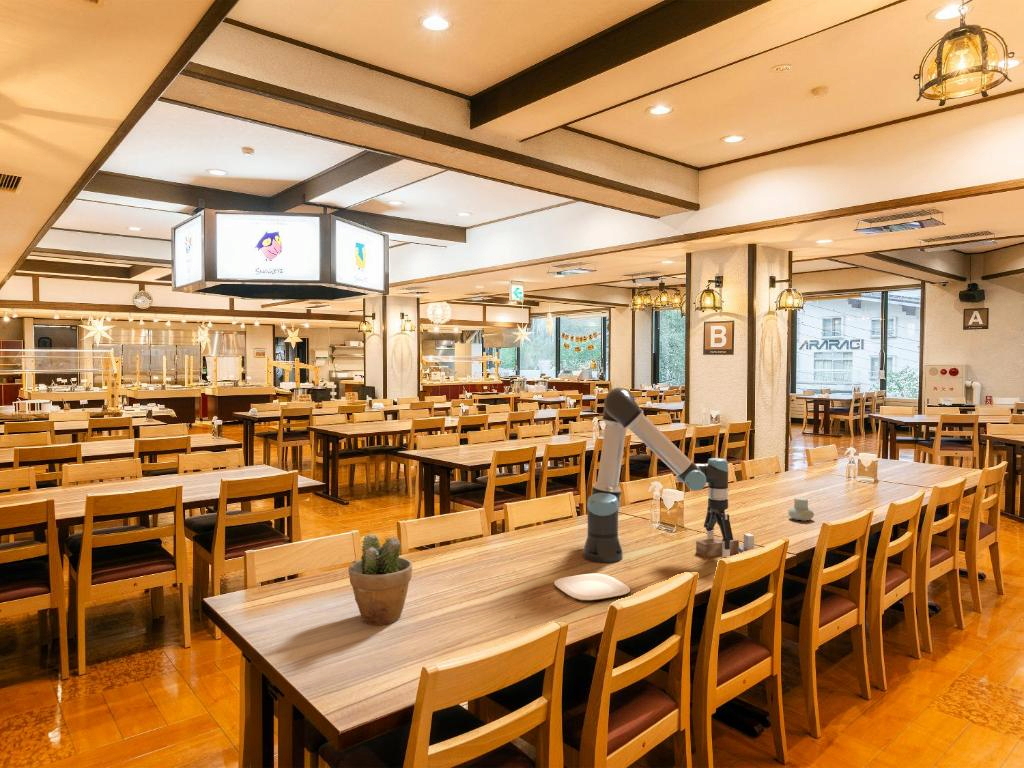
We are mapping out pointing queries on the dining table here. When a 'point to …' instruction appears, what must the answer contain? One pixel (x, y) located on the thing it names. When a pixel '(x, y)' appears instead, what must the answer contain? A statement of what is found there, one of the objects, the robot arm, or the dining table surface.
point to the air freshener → (801, 510)
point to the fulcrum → (747, 542)
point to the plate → (591, 587)
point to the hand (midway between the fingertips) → (717, 552)
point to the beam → (715, 547)
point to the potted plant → (380, 581)
